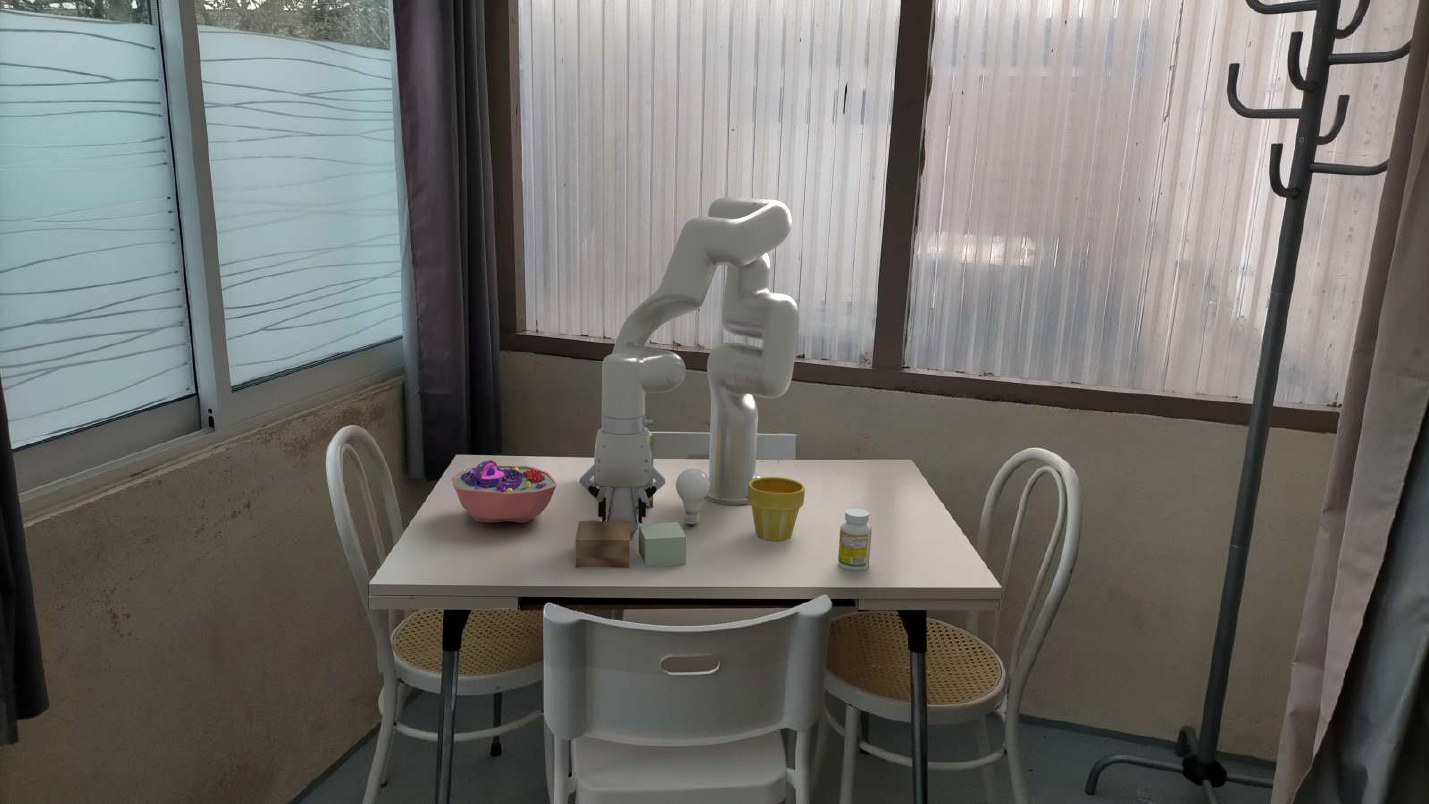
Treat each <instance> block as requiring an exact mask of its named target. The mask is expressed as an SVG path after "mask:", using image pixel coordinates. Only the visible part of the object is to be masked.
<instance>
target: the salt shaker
mask: <svg viewBox="0 0 1429 804" xmlns="http://www.w3.org/2000/svg"><path fill="white" fill-rule="evenodd" d="M606 521H630V542H632V541H633V540H632V539H633V538H634V536H635V535H636V533H637V531H638V530H639V523H638V515H637V511H636V509H635V505H634V499H633V493H632V488H630V487H612V490H611V496H610V501H609V507H608V512H607V515H606Z"/></svg>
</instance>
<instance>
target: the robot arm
mask: <svg viewBox="0 0 1429 804" xmlns="http://www.w3.org/2000/svg"><path fill="white" fill-rule="evenodd" d="M791 215H792V214H791V211H790V210H789V208H788V207H787V206H786V205H785V204H784V203H783V202H782V201H780V200H775V199H768V198H767V199H766V198H765V199H764V198H753V197H752V198H751V197H743V196H726V197H721V198H717V199H715V200H714V201H712V203H710V206H709V208H708V214H707V216H698V217H693V218H691V219H689V220H688V221H686V223H685V224H684V225H683V226H682V229H681V231H680V233H679V236H678V239H677V241H676V244H675V246H674V249H673V251H672V254H671V255H670V256H671V257H670V260H669V261H668V264H667V267H666V270H665V272H664V275H663V276H662V277H663V278H662V279H661V281H660V282H661V283H660V285H659V286H658V289H657V290H655V292H653V293H652V294H651V295H649V296H648V297H647V298H645V300H643V301H642V302H641V303H640V304H639V305H638V306H637V307H636V308H635V309H634V310H633V311H632V312H631V313H630V314H629V315H628V317H627V318H626V319H625V321H624V322H623V324H622V326H621V328H620V331H619V333H618V335H617V338H616V340H615V344H614V346H613V348H612V349H613V350H612V353H611V354H608V355H606V356H605V357H604V358H603V359H602V360H603V361H602V363H601V364H602V365H601V366H602V367H601V382H602V383H601V428H598V429H597V433H596V437H595V445H594V446H595V447H594V455H593V456H594V460H593V464H592V465H591V467H590V468H588V469H587V470H586V472H584V473H583V474H582V475H581V476H580V477H579V481H578V482H579V484H580V485H581V486H582V487H584V489H586V490H587V492H589V494H591V495H592V497H594V499H596V501H597V517H598V518H601V521H607V498H606V494H607V490H608V489H609V488H613V487H630V488H636V487H637V490H638V493H639V495H640V498H638V508H637V512H638V514H637V522H638V524H643V518H646V517H647V508H646V502H647V501H648V499H649V498H650V497H651V496H652V495H653V496H654V495H655V494H656V493H657V491H658V490H660V489H661V488H662V487H663V486H664V485H666V478H665V477H664V476H663V475H662V474H661V473H660V472H659V471H658V470H657V469H656V468H655V467H654V465H653V466H652V465H651V445H650V436H649V432H648V430H649V429H648V428H647V427H649V426H653V425H654V423H653V422H654V419H653V417H649V416H647V415H646V394H650V393H652V394H654V393H655V394H656V393H668V392H671V391H674V390H676V389H677V388H678V387H680V385H681V384H682V383H683V382H684V380H685V377H686V374H687V367H686V364H685V362H684V360H683V358H682V357H681V355H679V354H677V353H676V352H674V351H670V350H667V349H661V348H657V347H653V346H647V344H648V342H649V340H650V338H651V337H652V335H654V333H655V332H656V331H658V330H659V328H660V327H661V326H663V325H665V324H666V323H669V322H670V321H671V320H674V319H677V318H680V317H682V316H684V315H688V314H690V313H693V312H695V311H697V310H698V309H700V308H701V307H703V304H704V303H705V299H706V296H707V294H708V291H709V288H710V286H711V283H712V280H713V278H714V276H715V273H716V271H717V268H718V266H726V277H725V278H726V279H725V285H724V294H723V300H722V307H721V309H722V310H721V325H722V328H723V329H724V330H725V331H726V332H727V333H729V334H731V335H733V336H738V337H741V338H746V339H747V338H748V339H752V340H760V341H762V347H761V346H756V345H752V344H747V343H739V342H733V341H731V342H724V343H720V344H718V345H716V346H715V347H714V348H713V349H712V350H711V351H710V353H709V355H708V358H707V362H706V363H707V365H706V371H707V378H708V379H707V380H708V385H709V391H710V392H709V393H710V425H709V426H710V427H709V428H710V431H709V462H708V464H709V465H708V479H709V482H710V489H709V492H708V494H707V496H706V497H705V498H704V500H707V501H709V502H712V503H717V504H722V505H731V506H732V505H734V506H735V505H747V504H750V503H749V502H748V484H749V482H750V481H751V480H753V479H756V478H762V477H761V476H759V475H758V474H757V472H756V471H757V470H756V462H757V445H758V444H757V442H758V441H757V440H758V423H759V411H758V406H757V403H756V400H755V397H761V398H766V399H778V398H780V397H782V396H783V395H784V394H785V393H786V392H787V391H788V389H789V388H790V385H791V382H792V379H793V373H794V367H795V360H796V354H797V345H798V338H799V332H800V321H801V319H800V318H801V317H800V312H799V308H798V305H797V303H796V301H795V300H794V299H793V298H792V297H791V296H789V295H787V294H785V293H780V292H775V291H774V292H773V291H769V285H770V274H771V261H770V258H769V254H768V253H769V252H772V251H773V250H775V249H776V248H777V247H779V246H780V245H782V243H783V242H784V241H786V239H787V237H788V236H789V233H790V232H791V229H792V228H791V227H792V216H791ZM754 396H755V397H754ZM644 427H645V428H647V429H648V430H647V429H644ZM651 476H652V477H653V480H655V481H653V484H652V485H650V486H649V487H648V488H647V489H646V486H648V485H649V484H650V481H651ZM592 478H593V481H594V483H593V482H591V481H590V480H591V479H592Z"/></svg>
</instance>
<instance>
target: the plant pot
mask: <svg viewBox="0 0 1429 804" xmlns="http://www.w3.org/2000/svg"><path fill="white" fill-rule="evenodd" d="M805 491H806V487H805V485H804V484H803V483H802V482H800V481H797V480H796V479H791V478H787V477H781V476H780V477H779V476H763V477H762V478H756V479H753V480H751V481H750V482H749V484H748V502H749V503H748V504H749V505H751V512H752V518H753V524H754V531H755V534H756V536H757V537H758V538H760V539H761V540H764V541H769V542H783V541H788V540H789V539H791V538H792V536H793V532H794V529H795V525H796V521H797V517H798V514H799V510H800V509H801V507H803V506H804V502H805V493H806V492H805Z"/></svg>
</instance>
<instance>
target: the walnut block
mask: <svg viewBox="0 0 1429 804" xmlns="http://www.w3.org/2000/svg"><path fill="white" fill-rule="evenodd" d="M577 524H578V525H577V530H576V536H575V569H629V568H630V566H631V565H630V563H631V559H630V558H631V541H630V521H607V520H606V521H602V520H578V522H577Z"/></svg>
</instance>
